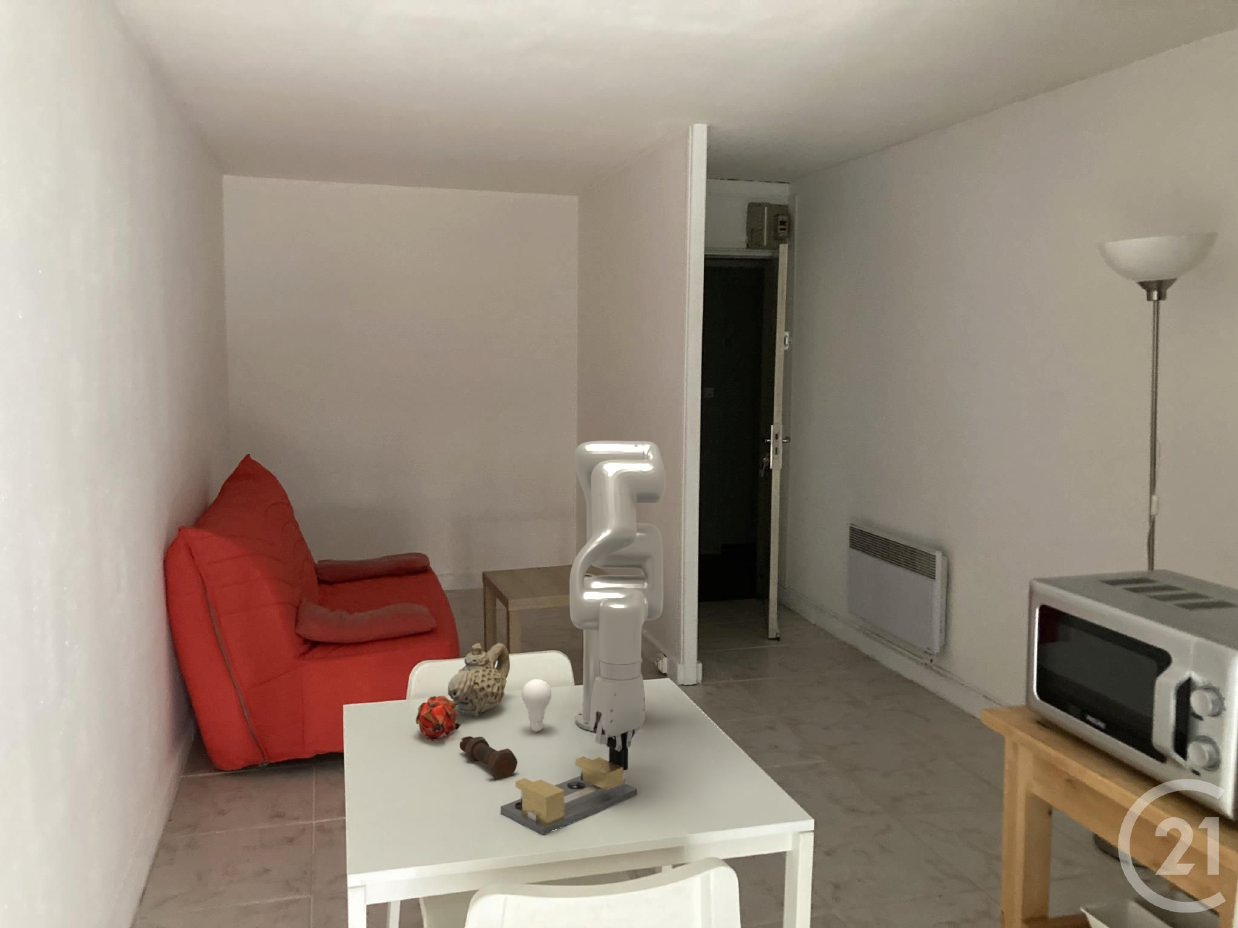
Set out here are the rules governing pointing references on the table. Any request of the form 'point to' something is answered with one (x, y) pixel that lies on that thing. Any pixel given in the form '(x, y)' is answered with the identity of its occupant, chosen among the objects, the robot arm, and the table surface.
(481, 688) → the teapot
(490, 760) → the bolt
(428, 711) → the dragon fruit
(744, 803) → the table surface
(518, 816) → the hole plate
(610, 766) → the block
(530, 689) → the lightbulb
